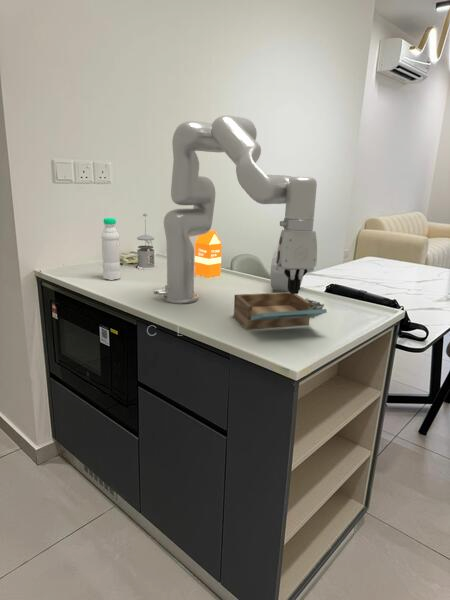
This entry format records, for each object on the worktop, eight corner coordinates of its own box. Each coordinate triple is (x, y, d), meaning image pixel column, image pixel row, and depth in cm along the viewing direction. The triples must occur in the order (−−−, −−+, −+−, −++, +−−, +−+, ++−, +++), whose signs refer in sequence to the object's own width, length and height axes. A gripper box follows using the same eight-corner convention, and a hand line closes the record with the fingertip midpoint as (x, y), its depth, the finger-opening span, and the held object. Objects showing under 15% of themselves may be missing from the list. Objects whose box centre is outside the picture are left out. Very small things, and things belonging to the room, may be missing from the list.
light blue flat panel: (251, 323, 128) (263, 320, 118) (250, 317, 128) (262, 312, 119) (310, 319, 133) (327, 315, 124) (310, 313, 134) (326, 309, 124)
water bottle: (124, 278, 185) (122, 218, 179) (111, 281, 180) (109, 219, 173) (112, 276, 189) (110, 216, 182) (99, 279, 183) (96, 217, 176)
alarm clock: (286, 281, 189) (289, 235, 184) (303, 284, 186) (307, 237, 181) (269, 292, 171) (272, 241, 165) (287, 295, 168) (291, 243, 162)
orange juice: (207, 272, 202) (208, 228, 196) (220, 276, 196) (222, 230, 190) (194, 275, 196) (194, 229, 191) (208, 278, 190) (209, 232, 185)
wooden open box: (247, 329, 130) (248, 306, 128) (233, 315, 142) (234, 294, 140) (308, 325, 136) (310, 303, 134) (291, 312, 148) (292, 291, 146)
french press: (132, 268, 205) (130, 213, 198) (141, 263, 216) (139, 211, 209) (152, 270, 203) (152, 214, 196) (160, 265, 214) (160, 212, 207)
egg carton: (311, 319, 142) (312, 307, 141) (290, 314, 146) (291, 303, 145) (325, 312, 150) (326, 300, 149) (305, 307, 154) (306, 296, 153)
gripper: (278, 227, 111) (273, 297, 116) (331, 227, 115) (324, 295, 121) (266, 223, 118) (262, 290, 123) (317, 223, 122) (311, 288, 127)
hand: (293, 292), depth 122 cm, fingers closed
